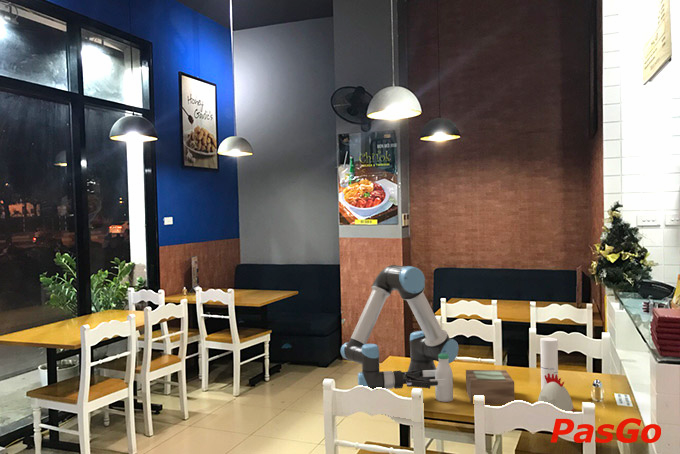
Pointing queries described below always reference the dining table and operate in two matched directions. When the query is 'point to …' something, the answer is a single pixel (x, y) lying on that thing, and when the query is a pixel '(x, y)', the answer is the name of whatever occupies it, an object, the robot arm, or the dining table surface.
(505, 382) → the walnut stand
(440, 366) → the milk bottle
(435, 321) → the robot arm
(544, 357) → the cylindrical container
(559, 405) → the kitchen timer
